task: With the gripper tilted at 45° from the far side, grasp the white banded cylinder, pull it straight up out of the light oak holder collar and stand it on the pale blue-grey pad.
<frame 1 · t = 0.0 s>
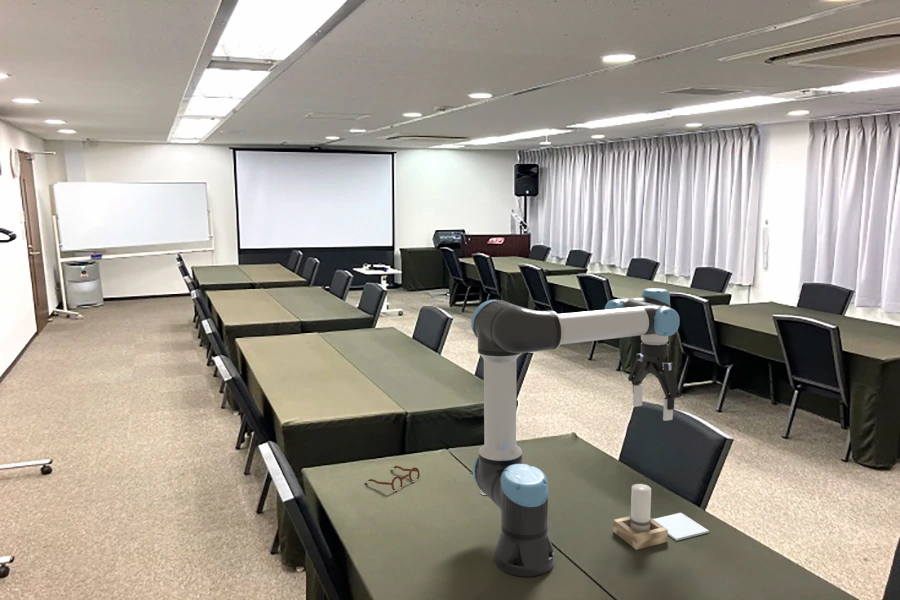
hand: (652, 412, 189), 28 cm above the table, tool pointing down, fingers open, 13 cm apart
white banded cylinder: (640, 512, 173), in the holder collar
scissors: (486, 484, 209), on the table
glasses: (392, 483, 211), on the table
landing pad: (678, 527, 179), on the table
holder collar: (639, 536, 174), on the table
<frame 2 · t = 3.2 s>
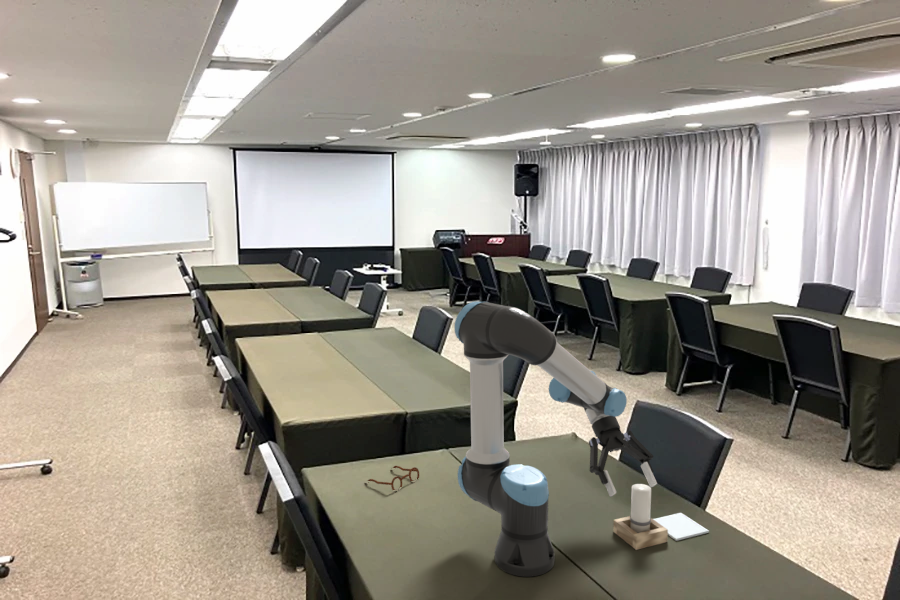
hand: (633, 490, 177), 11 cm above the table, tool tilted 45°, fingers open, 13 cm apart
nothing on the table moved.
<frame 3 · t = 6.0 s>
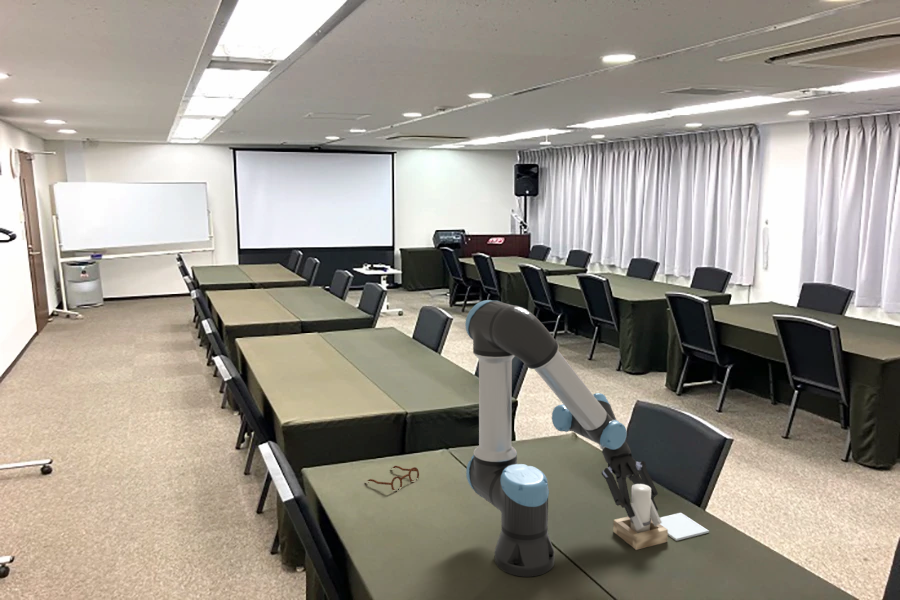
hand: (649, 526, 170), 5 cm above the table, tool tilted 45°, fingers closed on white banded cylinder, 5 cm apart
white banded cylinder: (640, 512, 173), in the holder collar, touching gripper
everything else where it was.
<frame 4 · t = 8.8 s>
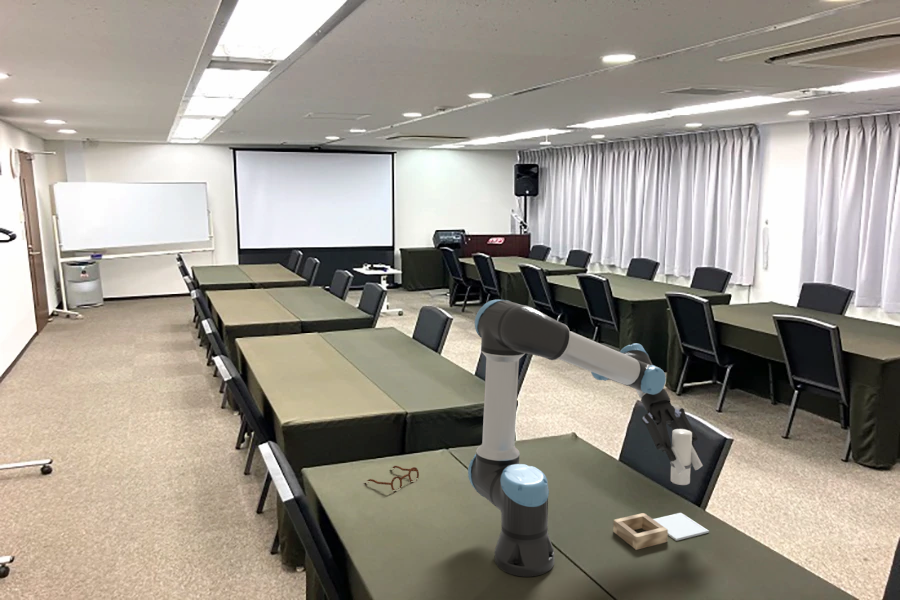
hand: (690, 469, 172), 18 cm above the table, tool tilted 45°, fingers closed on white banded cylinder, 5 cm apart
white banded cylinder: (681, 456, 175), point 21 cm above the table, touching gripper
everything else where it was.
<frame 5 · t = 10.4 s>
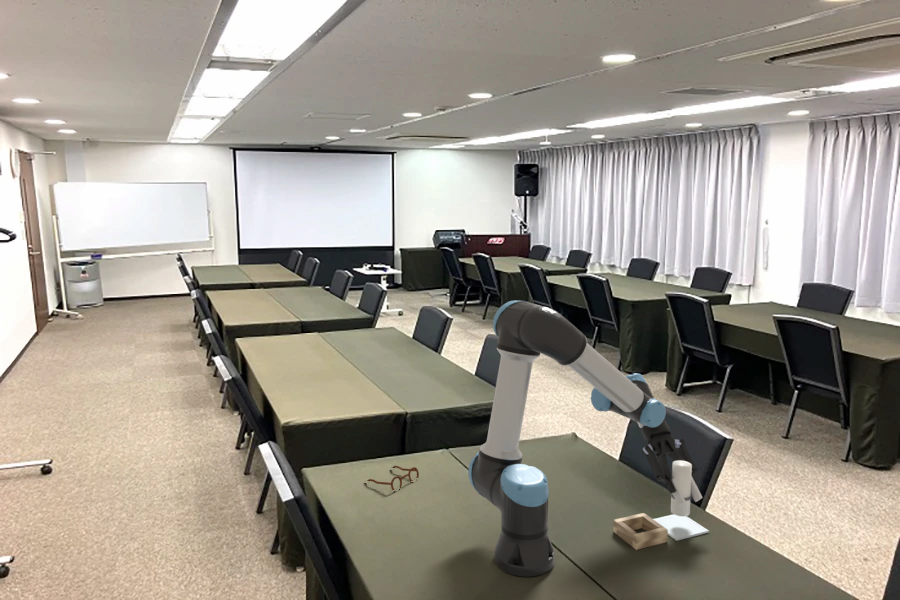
hand: (690, 501, 174), 9 cm above the table, tool tilted 45°, fingers closed on white banded cylinder, 5 cm apart
white banded cylinder: (681, 488, 177), point 11 cm above the table, touching gripper
everything else where it was.
when the fingers open (7 cm above the table, at t = 11.7 s): white banded cylinder drops 1 cm, resting on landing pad.
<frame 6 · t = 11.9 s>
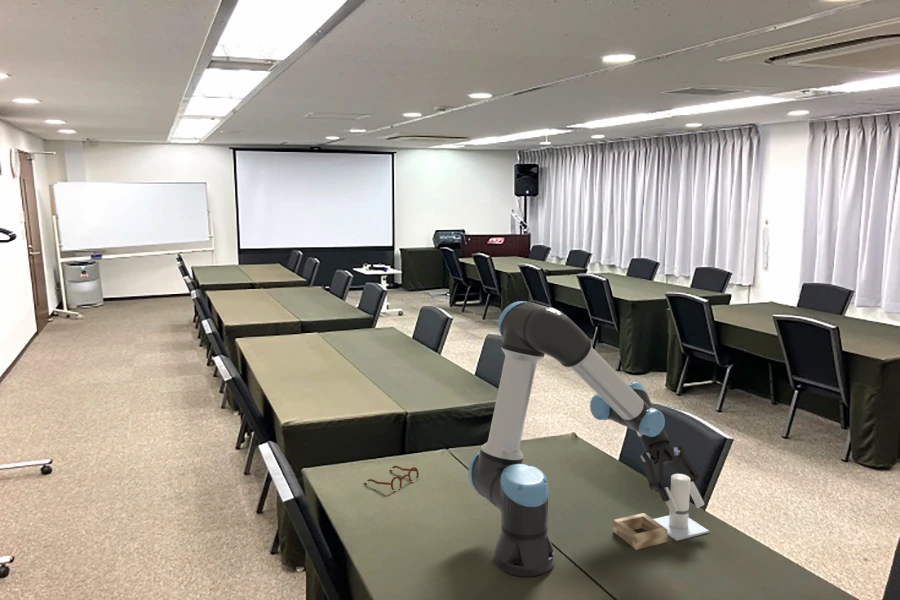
hand: (688, 509, 174), 7 cm above the table, tool tilted 45°, fingers open, 8 cm apart
white banded cylinder: (679, 501, 177), on the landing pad, point 8 cm above the table
everything else where it was.
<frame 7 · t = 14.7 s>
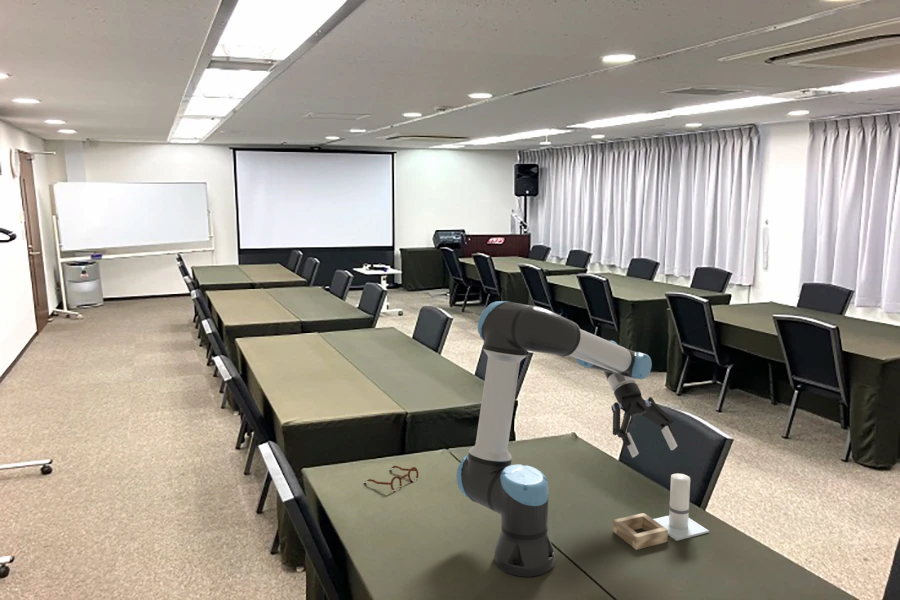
hand: (655, 451, 185), 18 cm above the table, tool tilted 45°, fingers open, 13 cm apart
nothing on the table moved.
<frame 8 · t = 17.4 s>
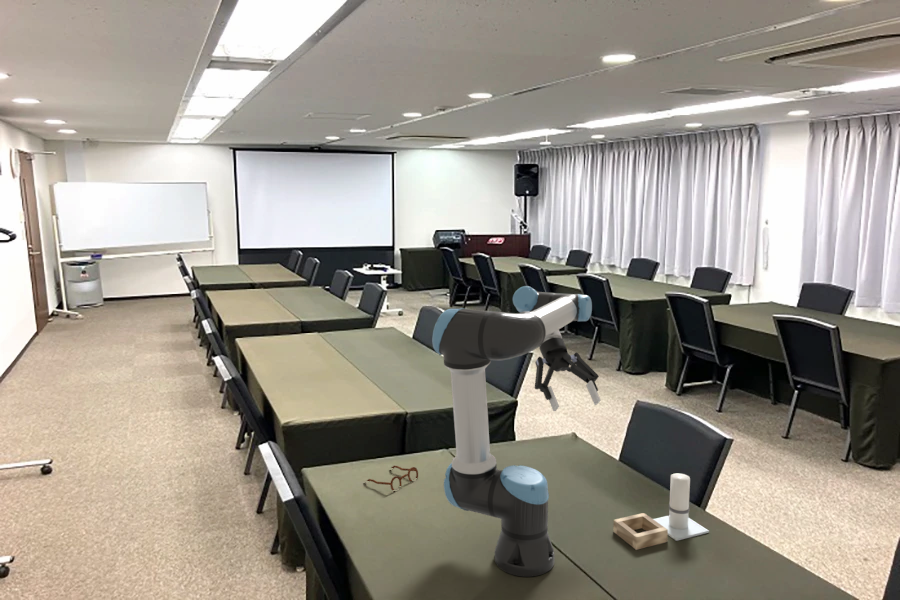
hand: (577, 405, 182), 33 cm above the table, tool tilted 45°, fingers open, 13 cm apart
nothing on the table moved.
at the end: white banded cylinder inside the target area on the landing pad (0.1 cm from its centre), point 7.6 cm above the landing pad's base; white banded cylinder tilted 1°; white banded cylinder touching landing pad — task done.
